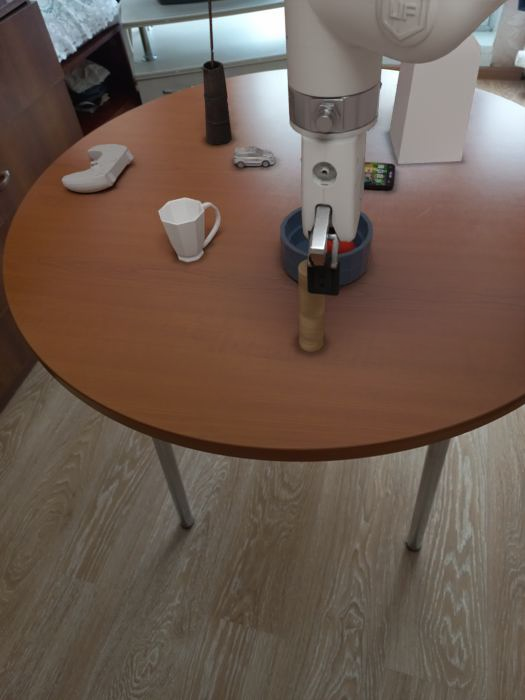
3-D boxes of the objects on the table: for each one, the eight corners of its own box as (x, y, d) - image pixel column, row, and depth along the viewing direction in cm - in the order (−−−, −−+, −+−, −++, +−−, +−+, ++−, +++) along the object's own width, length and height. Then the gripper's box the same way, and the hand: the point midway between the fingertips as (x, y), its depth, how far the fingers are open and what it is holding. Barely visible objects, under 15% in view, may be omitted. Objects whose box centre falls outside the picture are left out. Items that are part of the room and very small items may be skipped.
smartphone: (393, 187, 89) (307, 181, 92) (392, 191, 90) (307, 186, 93) (395, 163, 94) (314, 158, 97) (395, 168, 95) (314, 163, 98)
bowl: (348, 226, 84) (350, 194, 80) (384, 277, 76) (389, 244, 71) (270, 245, 83) (268, 213, 78) (298, 299, 74) (297, 267, 70)
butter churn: (211, 158, 101) (186, -9, 80) (185, 141, 107) (155, -20, 85) (248, 142, 105) (234, -23, 84) (221, 126, 110) (201, -33, 89)
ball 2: (349, 257, 76) (362, 248, 77) (339, 240, 76) (352, 231, 77) (337, 263, 79) (350, 255, 80) (327, 246, 78) (340, 238, 80)
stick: (318, 331, 70) (320, 256, 60) (326, 348, 68) (330, 273, 58) (296, 337, 69) (294, 261, 60) (303, 354, 67) (303, 279, 58)
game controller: (89, 140, 103) (132, 133, 99) (100, 161, 106) (141, 154, 102) (53, 179, 94) (98, 173, 90) (66, 200, 97) (110, 195, 93)
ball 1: (330, 232, 79) (342, 246, 78) (318, 246, 81) (329, 260, 80) (320, 231, 77) (332, 245, 76) (307, 245, 78) (319, 260, 77)
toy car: (275, 167, 98) (274, 152, 96) (233, 168, 98) (231, 154, 96) (275, 157, 100) (275, 142, 98) (234, 158, 101) (233, 144, 99)
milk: (461, 161, 95) (501, -4, 76) (398, 164, 96) (421, 1, 76) (447, 129, 103) (480, -27, 83) (389, 132, 104) (408, -22, 84)
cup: (160, 253, 83) (148, 210, 77) (209, 226, 87) (202, 183, 81) (184, 274, 79) (174, 230, 73) (235, 245, 83) (229, 201, 77)
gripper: (368, 155, 37) (356, 322, 50) (387, 61, 48) (373, 218, 61) (266, 151, 38) (280, 314, 51) (307, 61, 49) (310, 214, 62)
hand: (330, 262), depth 56 cm, fingers open, 9 cm apart
